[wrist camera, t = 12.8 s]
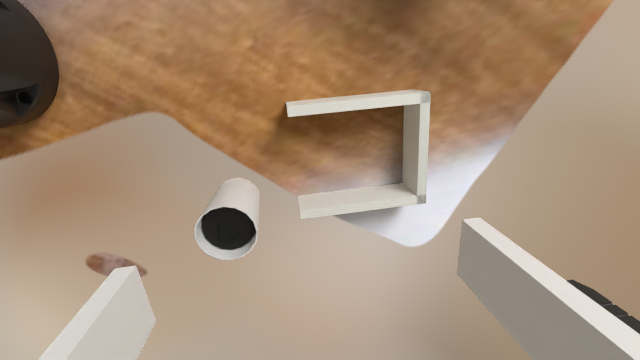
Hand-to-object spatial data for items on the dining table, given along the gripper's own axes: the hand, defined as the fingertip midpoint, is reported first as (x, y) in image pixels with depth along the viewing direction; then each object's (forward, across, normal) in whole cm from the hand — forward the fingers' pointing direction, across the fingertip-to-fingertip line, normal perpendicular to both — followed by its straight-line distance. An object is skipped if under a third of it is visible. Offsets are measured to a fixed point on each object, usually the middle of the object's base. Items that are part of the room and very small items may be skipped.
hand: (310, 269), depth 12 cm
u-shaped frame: (+29, +8, -3) cm, 30 cm away
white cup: (+29, -8, -8) cm, 31 cm away
